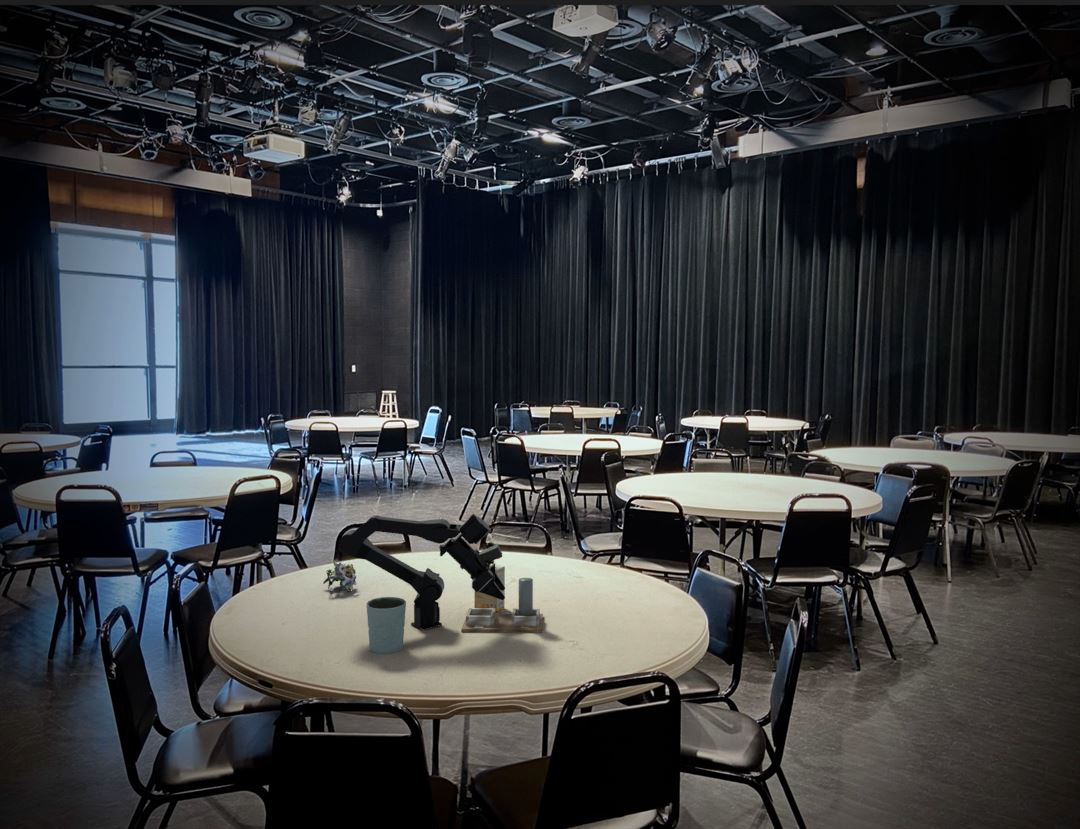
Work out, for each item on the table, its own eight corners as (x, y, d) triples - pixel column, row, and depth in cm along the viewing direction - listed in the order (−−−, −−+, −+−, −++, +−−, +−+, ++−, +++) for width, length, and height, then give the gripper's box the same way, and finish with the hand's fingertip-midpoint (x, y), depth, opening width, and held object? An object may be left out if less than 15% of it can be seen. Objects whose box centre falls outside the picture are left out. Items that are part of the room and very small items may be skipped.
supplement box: (473, 608, 238) (473, 565, 237) (482, 604, 242) (481, 562, 241) (497, 612, 234) (497, 569, 233) (505, 608, 238) (505, 565, 237)
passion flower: (350, 607, 257) (350, 583, 250) (317, 601, 257) (316, 577, 250) (360, 580, 266) (361, 557, 259) (329, 574, 266) (328, 551, 259)
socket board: (461, 631, 216) (461, 619, 216) (467, 616, 230) (467, 604, 230) (541, 632, 216) (541, 620, 216) (542, 616, 230) (542, 605, 230)
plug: (530, 624, 220) (530, 582, 220) (516, 622, 222) (516, 580, 221) (534, 619, 224) (534, 578, 223) (521, 618, 225) (521, 577, 225)
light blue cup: (389, 638, 211) (388, 594, 210) (414, 647, 205) (414, 601, 204) (358, 649, 203) (358, 603, 203) (384, 658, 197) (383, 610, 196)
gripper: (484, 542, 212) (525, 583, 213) (486, 528, 230) (524, 566, 231) (454, 571, 212) (495, 611, 213) (459, 555, 231) (496, 592, 232)
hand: (504, 594), depth 222 cm, fingers open, 9 cm apart
